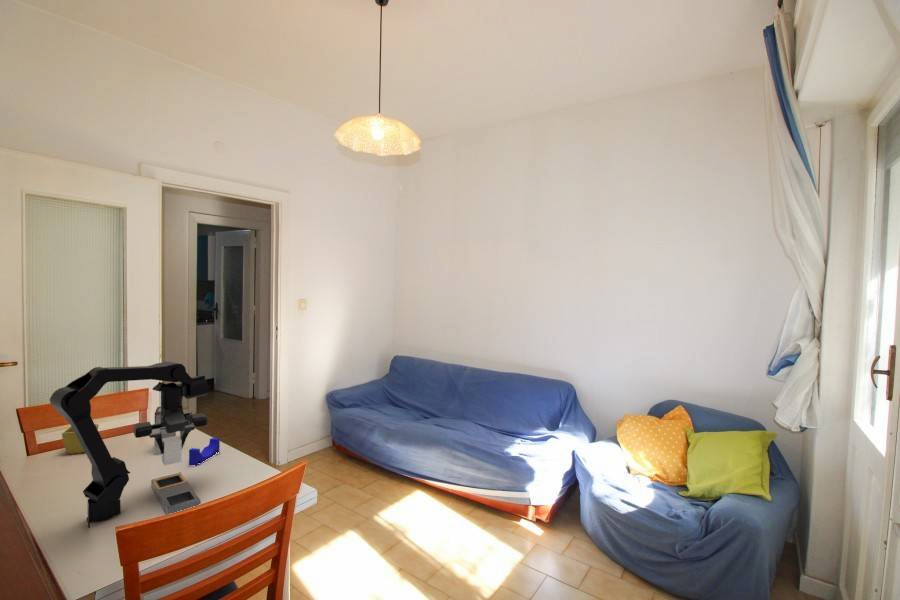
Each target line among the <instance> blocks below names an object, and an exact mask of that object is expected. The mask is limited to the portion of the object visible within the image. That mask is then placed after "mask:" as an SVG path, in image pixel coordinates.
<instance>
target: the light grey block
mask: <svg viewBox="0 0 900 600" xmlns="http://www.w3.org/2000/svg"><path fill="white" fill-rule="evenodd" d="M162 442H163V454H161V462H162V464H163V466H167V465H173V464H176V463H177V464H178V463H181V462H182V451H183V448H182V440H181V438H180V435H176V436H174V437H168V438H163V439H162Z"/></svg>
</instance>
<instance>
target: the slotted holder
mask: <svg viewBox="0 0 900 600" xmlns="http://www.w3.org/2000/svg"><path fill="white" fill-rule="evenodd" d="M150 486H151V489H152V490H153V492H154V494H155V495H156V497H157V499H158V501H159V503H160V505H161V506H162V509H163V510H164V512H165V515H167V514H170V513H174V512H177V511H180V510H184V509H187V508H190V507H193V506H197V505H199V504H201V499H200V497H199V495H197V493H196V491H195V490H194V489H193V487H192V486H191V485H190V483H189V482H188V481H187V479H186V478H185V477H184V475H183V474H182V472H177V473H172V474H169V475H165V476H162V477H157V478H153V479H151V482H150Z"/></svg>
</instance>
